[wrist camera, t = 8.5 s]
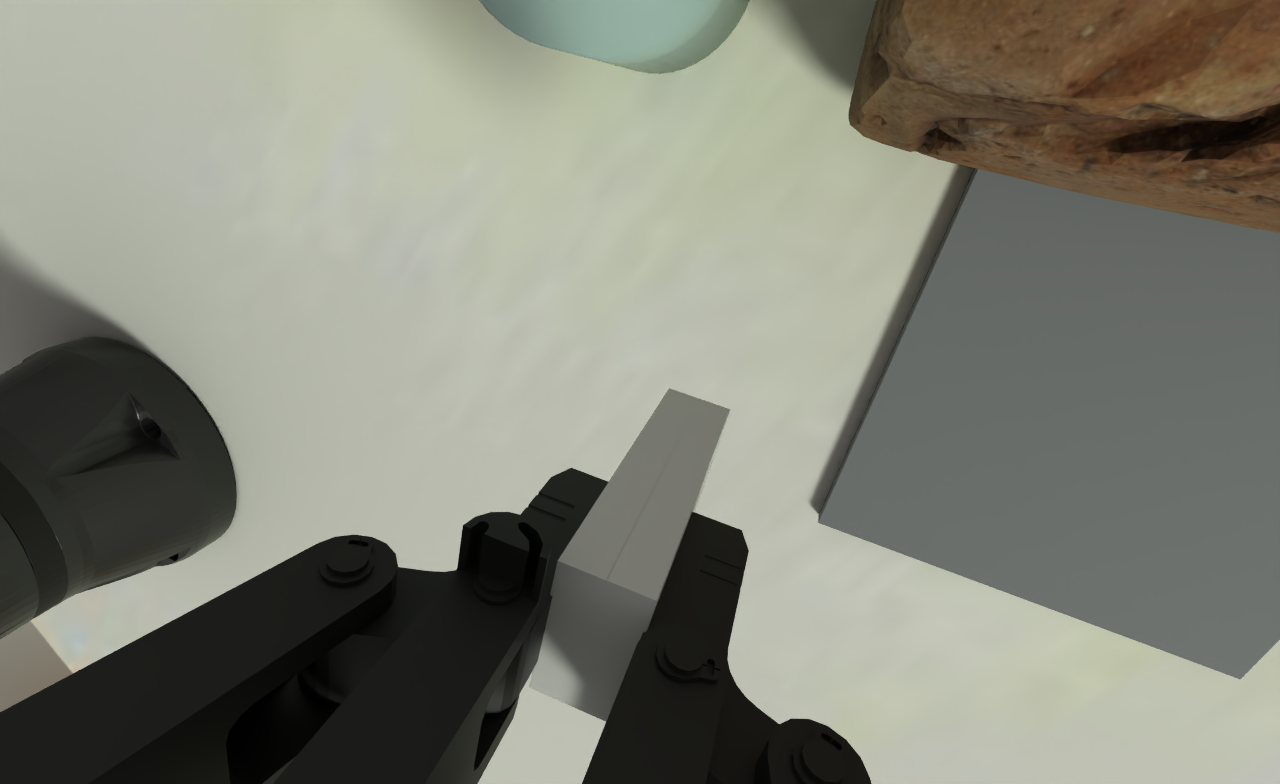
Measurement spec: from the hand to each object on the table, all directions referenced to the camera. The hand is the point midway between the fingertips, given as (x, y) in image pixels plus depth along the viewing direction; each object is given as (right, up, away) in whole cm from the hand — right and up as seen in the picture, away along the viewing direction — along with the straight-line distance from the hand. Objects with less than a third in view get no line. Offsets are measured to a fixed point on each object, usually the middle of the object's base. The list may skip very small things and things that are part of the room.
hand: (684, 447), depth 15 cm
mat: (+17, 0, +8) cm, 18 cm away
